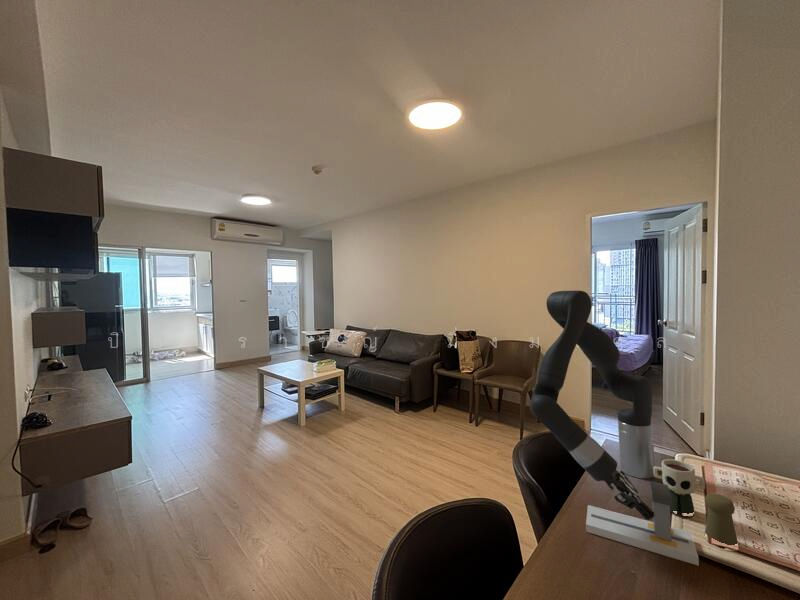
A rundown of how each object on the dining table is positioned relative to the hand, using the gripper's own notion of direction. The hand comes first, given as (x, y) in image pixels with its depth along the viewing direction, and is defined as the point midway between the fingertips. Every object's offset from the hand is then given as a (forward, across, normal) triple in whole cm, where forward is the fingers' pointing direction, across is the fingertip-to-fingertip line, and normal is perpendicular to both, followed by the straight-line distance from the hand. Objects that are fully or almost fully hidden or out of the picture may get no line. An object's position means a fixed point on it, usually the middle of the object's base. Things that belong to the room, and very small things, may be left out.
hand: (650, 516), depth 81 cm
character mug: (+10, +16, -1) cm, 19 cm away
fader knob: (+4, 0, +1) cm, 4 cm away
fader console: (+2, 0, +6) cm, 7 cm away
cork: (+14, +7, -6) cm, 17 cm away
